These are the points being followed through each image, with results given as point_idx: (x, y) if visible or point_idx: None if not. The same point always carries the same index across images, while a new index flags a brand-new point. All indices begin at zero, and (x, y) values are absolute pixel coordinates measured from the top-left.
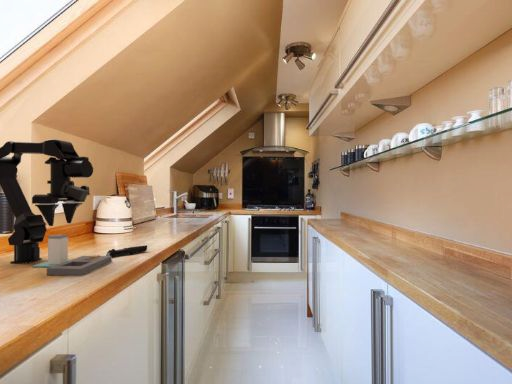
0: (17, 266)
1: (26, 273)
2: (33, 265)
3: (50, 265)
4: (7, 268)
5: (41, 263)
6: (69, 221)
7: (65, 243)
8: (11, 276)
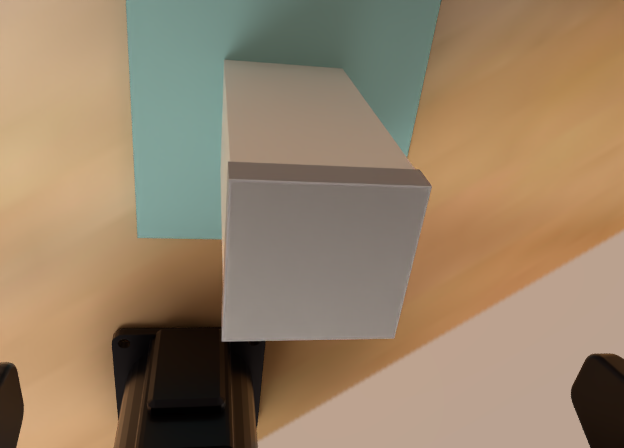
0: None
1: (563, 165)
2: None
3: (398, 116)
4: (388, 353)
5: None
6: (1, 407)
7: (282, 130)
8: (618, 204)
